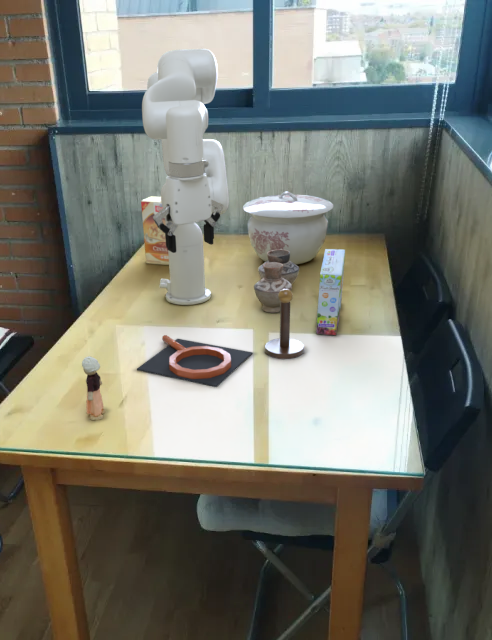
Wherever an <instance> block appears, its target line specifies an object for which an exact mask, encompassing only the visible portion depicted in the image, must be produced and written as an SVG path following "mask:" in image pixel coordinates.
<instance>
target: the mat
mask: <svg viewBox="0 0 492 640" xmlns="http://www.w3.org/2000/svg"><path fill="white" fill-rule="evenodd" d="M174 340H175V341H176V342H178V343H179V344H181V345H182V346H184V347H185V348H189V347H196V346H210V347H215V348H221V349H223V350H224V351H226V352H228V353H229V354H230V357H231V368H229V369H228V370H227V371H226V372H225V373H224V374H221V375H218V376H215V377H212V378H204V379H190V378H185V377H180V376H177V375H176V374H175V373H173V372H172V371H171V370H170V368H169V357H170V356H171V355H173V354H174V353H175V352H177V350H176V349H174V348H173V347H171V346H170V345H168V344H167V346H165V347H164V348H163V349H162V350H160V351H158V352H157V353H156V354H155V355H153V356H152V357H150V358H149V359H148V360H146V361H145V362H144V363H142V364H141V365H140V366H138V367H137V368H136V371H138V372H143V373H148V374H153V375H157V376H162V377H166V378H171V379H177V380H181V381H186V382H191V383H195V384H198V385H199V384H200V385H204V386H208V387H214V388H217V387H218V386H220V385H221V384H222V383H223V382H224V381H225V380H226V379H227V378H228V377H229V376H230V375H232V373H233V372H235V371H236V370H237V369H238V368H239V367H241V365H242V364H243V363H245V361H246V360H248V359H249V358H250V357H251V356H252V355H253V351H247V350H242V349H237V348H231V347H226V346H221V345H219V346H218V345H215V344H208V343H203V342H200V341H194V340H193V341H192V340H188V339H182V338H176V339H174ZM222 362H223V360H221V359H220V358H218V357H217V356H211V355H192V356H189V357H185V358H183V359H181V360H180V361H179V362H177V364H178V365H179V366H181V367H182V368H187V369H192V370H200V369H209V368H212V367H216V366H218V365H220V364H221V363H222Z"/></svg>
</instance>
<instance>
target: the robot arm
mask: <svg viewBox="0 0 492 640" xmlns="http://www.w3.org/2000/svg"><path fill="white" fill-rule="evenodd" d="M156 65H157V67H156V68H157V69H156V72H153V73H152V74H150V75H149V77H148V79H147V84H146V90H145V92H144V95H143V97H142V102H141V114H142V115H141V117H142V127H143V129H144V132H145V134H146V136H147V137H148V138H149V139H151V140H155V141H156V140H157V141H159V140H161V150H162V160H163V168H164V171H165V173H166V175H167V176H166V177H165V181H164V182H165V183H164V184H163V185H162V186H161V189H160V197H161V202H162V207H163V209H162V210H160V211H159V212H158V213H157V214H156V215H154V216H153V220H154V221H155V223H156V224H157V227H158V228H159V229H160V230H162V231H163V232H164V233H165V239H166V247H167V249H168V255H169V265H168V269H169V279H168V278H161V279H160V281H159V285H158V286H159V289H166V290H167V292H166V293H165V300H166V301H167V302H169V303H170V304H174V305H180V306H191V305H192V306H193V305H199V304H202V303H205V302H207V301H208V300H210V299H211V297H212V292H211V290H210V289H208V288H207V287H206V277H205V276H206V275H205V255H204V254H205V253H204V252H205V251H204V242H205V243H207V244H209V245H214V239H215V227H216V225H217V222H218V221H219V219H220V218H221V215H223V214H225V213H226V212H227V211H228V209H229V205H230V194H229V193H230V192H229V185H228V176H227V168H226V167H227V166H226V157H225V152H224V149H223V146H222V144H221V143H220V142H219V141H218V140H216V139H213V138H212V139H211V138H206V139H205V138H204V137H203V136H204V134H205V132H206V130H207V129H208V128H209V111H208V109H207V108H206V106H205V105H206V104H210V103H211V102H212V101H213V100H214V97H215V94H216V88H217V83H218V78H219V70H218V69H219V68H218V63H217V58H216V57H215V54H214V53H213V52H212V51H211V50H210V49H207V48H186V49H172V50H168V51H165V52H164V53H162V55H161V56H160V57H159V59H158V61H157V64H156ZM203 138H204V139H203ZM164 217H165V222H166V225H164V224H163V221H162V219H163V218H164ZM199 222H204V223H203V231H202V229H201V228H200V226H199V225H198V223H199Z"/></svg>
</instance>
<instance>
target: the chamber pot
mask: <svg viewBox="0 0 492 640" xmlns="http://www.w3.org/2000/svg"><path fill="white" fill-rule="evenodd" d="M334 205H335V204H333V203H332V202H331V201H330V200H328V199H326V198H323V197H319V196H315V195H310V194H300V193H299V194H298V193H297V194H296V193H295V194H294V193H293V192H290V191H283V192H282V193H280V194H273V195H265V196H260V197H257V198H254V199H251V200H249V201H246V202H245V203H244V205H243V206H242V209H243V211H244V212H246V213H247V214H249V215H250V217H249V218H248V221H247V235H248V238H249V243H250V246H251V247H252V249H253V250H254V253H255V254H256V255H257V257H258V258H259V259H260V260H262V261H263V262H264V263H265V262H267V261H268V256H267V253H268V252H269V251H272V250H287V251H289V252H290V259H289V261H290V262H292V263H294V264H296V265H297V266H298V265H302V264H304V263H307V262H310V261H312V260H314V258H316V256H317V255H318V254H319V252H320V250H321V249H322V247H323V246H324V244H325V241H326V237H327V233H328V226H329V221H328V218H327V217H326V213H328V212H330V211H332V210H333V208H334Z"/></svg>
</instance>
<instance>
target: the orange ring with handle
mask: <svg viewBox="0 0 492 640" xmlns="http://www.w3.org/2000/svg"><path fill="white" fill-rule="evenodd" d="M161 340H162V341H163V342H164V343H165V344H167V346H168V345H170V346H171V347H173V348H174V349H176V350H177V352H175V353H174V354H173V355H171V356H170V357H169V368H170V370H171V371H172V372H173V373H175V374H176V375H177V376H180V377H185V378H190V379H204V378H212V377H215V376H218V375H221V374H224V373H225V372H226V371H227V370H228V369H229V368H231V357H230V354H229V353H228V352H226V351H224V350H223V349H221V348H215V347H210V346H196V347H189V348H185V347H184V346H182V345H181V344H179V343H178V342H176V341H175V340H176V339H173V338H172V337H170V336H169V335H167V334H164V335H163V336H162V337H161ZM192 355H211V356H217V357H218V358H220V359H221V360H223V362H222V363H221V364H220V365H218V366H216V367H212V368H209V369H200V370H192V369H187V368H182V367H181V366H179V365H178V364H177V362H179V361H180V360H181V359H183V358H185V357H189V356H192Z"/></svg>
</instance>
